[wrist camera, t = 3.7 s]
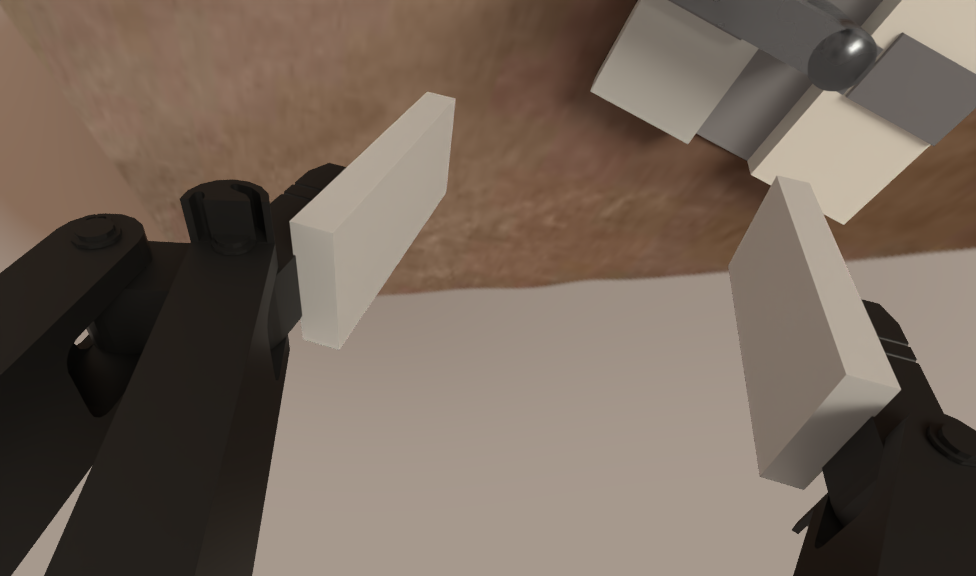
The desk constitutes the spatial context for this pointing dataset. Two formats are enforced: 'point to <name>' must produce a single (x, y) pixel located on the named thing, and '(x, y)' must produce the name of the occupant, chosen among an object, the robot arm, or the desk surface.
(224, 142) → the desk surface
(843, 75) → the lever
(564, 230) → the desk surface
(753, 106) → the door mockup
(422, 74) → the desk surface
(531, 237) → the desk surface
